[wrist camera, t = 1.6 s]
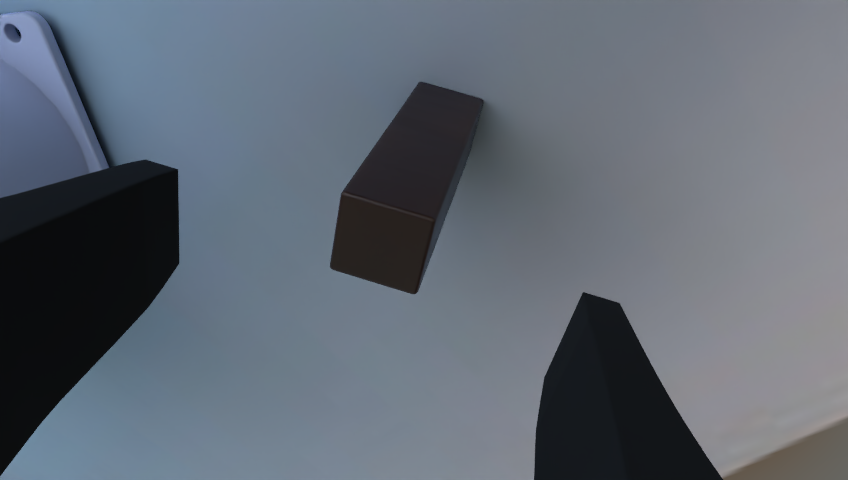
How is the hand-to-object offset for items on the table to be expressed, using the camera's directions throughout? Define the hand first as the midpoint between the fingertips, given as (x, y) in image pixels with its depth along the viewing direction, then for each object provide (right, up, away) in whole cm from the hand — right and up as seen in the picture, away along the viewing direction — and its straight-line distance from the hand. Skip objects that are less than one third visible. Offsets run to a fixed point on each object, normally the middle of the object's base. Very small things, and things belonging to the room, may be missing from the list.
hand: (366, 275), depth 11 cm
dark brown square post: (+2, +4, +6) cm, 8 cm away
